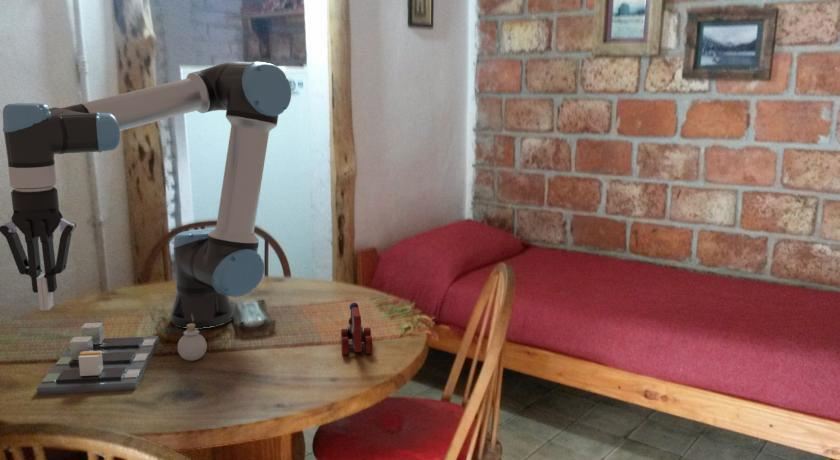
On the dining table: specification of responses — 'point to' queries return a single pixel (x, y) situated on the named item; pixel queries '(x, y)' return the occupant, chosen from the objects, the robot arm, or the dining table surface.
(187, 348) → the ornament
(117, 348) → the panel
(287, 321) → the dining table surface
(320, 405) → the dining table surface
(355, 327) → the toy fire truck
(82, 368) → the knob
